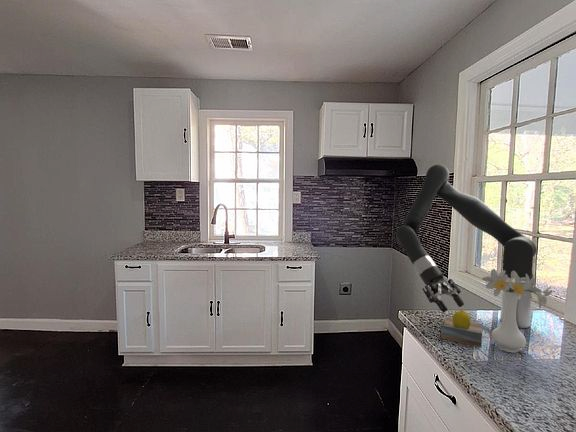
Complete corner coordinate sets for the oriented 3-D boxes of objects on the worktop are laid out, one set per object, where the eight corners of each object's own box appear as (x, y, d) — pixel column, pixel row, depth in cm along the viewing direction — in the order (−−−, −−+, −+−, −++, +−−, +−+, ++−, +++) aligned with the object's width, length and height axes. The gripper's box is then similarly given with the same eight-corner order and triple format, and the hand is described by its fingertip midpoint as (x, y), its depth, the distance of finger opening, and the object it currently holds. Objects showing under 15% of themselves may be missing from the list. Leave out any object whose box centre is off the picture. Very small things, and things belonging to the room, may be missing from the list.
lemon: (469, 337, 111) (471, 314, 110) (451, 333, 114) (452, 311, 113) (469, 331, 116) (471, 309, 115) (452, 327, 118) (453, 306, 118)
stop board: (445, 320, 129) (446, 309, 128) (481, 327, 123) (482, 315, 122) (440, 338, 113) (441, 325, 113) (481, 346, 107) (482, 333, 107)
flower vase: (544, 367, 95) (550, 282, 93) (473, 346, 108) (477, 270, 106) (548, 351, 105) (555, 274, 103) (483, 333, 117) (487, 264, 115)
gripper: (435, 272, 133) (460, 308, 124) (408, 278, 127) (433, 317, 118) (446, 262, 128) (473, 299, 119) (419, 268, 122) (446, 308, 113)
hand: (453, 308), depth 119 cm, fingers open, 8 cm apart
